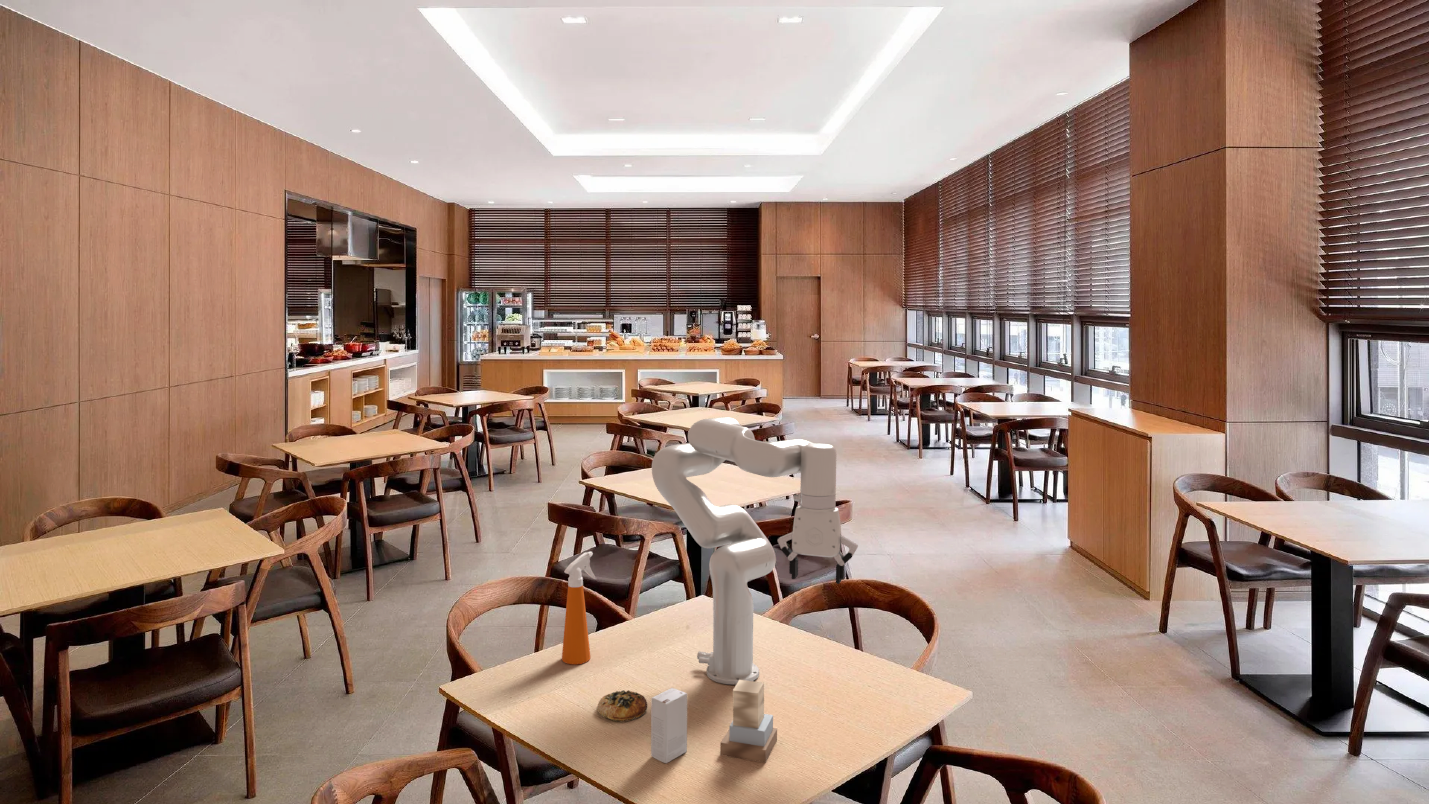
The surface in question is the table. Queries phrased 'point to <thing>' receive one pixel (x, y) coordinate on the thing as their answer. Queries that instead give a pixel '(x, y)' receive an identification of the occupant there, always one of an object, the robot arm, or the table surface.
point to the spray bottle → (576, 613)
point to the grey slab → (752, 732)
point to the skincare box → (668, 725)
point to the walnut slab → (748, 748)
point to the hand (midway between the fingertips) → (816, 579)
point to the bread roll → (622, 706)
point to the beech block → (748, 703)
